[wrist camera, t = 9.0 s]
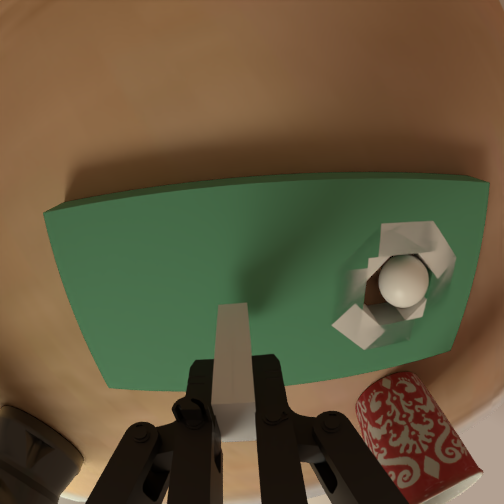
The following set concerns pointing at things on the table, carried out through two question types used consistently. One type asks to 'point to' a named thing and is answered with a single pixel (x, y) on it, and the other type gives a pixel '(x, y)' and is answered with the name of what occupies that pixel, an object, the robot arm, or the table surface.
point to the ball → (403, 280)
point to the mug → (414, 440)
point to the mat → (267, 270)
